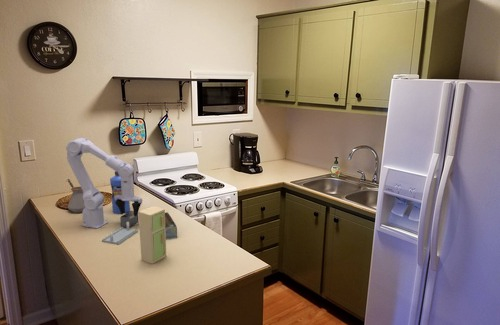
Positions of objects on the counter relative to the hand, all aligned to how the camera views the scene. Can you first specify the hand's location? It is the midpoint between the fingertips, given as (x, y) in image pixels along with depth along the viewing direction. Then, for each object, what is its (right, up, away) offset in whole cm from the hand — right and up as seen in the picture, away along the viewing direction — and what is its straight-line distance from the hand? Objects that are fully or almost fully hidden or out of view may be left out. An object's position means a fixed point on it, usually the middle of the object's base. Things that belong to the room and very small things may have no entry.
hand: (129, 214), depth 175 cm
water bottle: (-11, -1, +20) cm, 23 cm away
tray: (0, -8, -12) cm, 15 cm away
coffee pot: (-38, 0, +23) cm, 45 cm away
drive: (0, -6, +1) cm, 6 cm away
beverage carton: (+19, -8, -5) cm, 21 cm away
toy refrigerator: (+21, -14, -31) cm, 40 cm away
